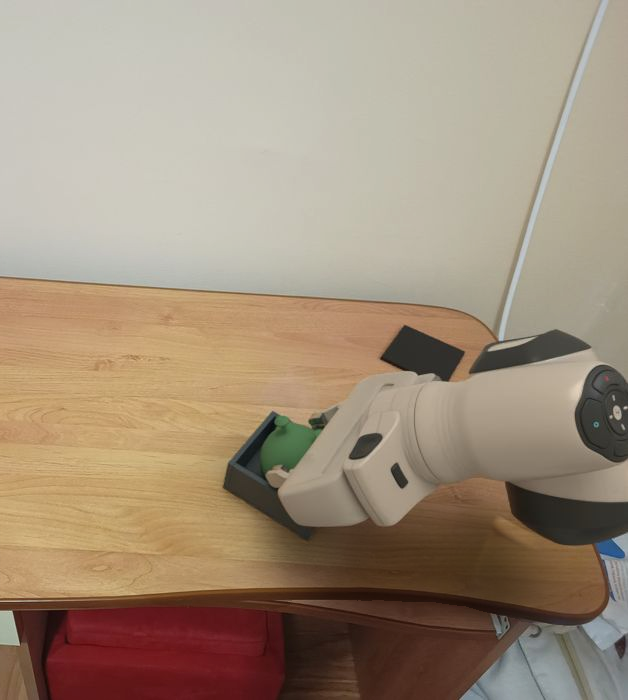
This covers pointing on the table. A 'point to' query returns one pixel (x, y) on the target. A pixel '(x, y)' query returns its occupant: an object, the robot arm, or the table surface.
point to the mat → (422, 354)
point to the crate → (260, 480)
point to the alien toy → (286, 445)
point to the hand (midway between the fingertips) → (293, 448)
